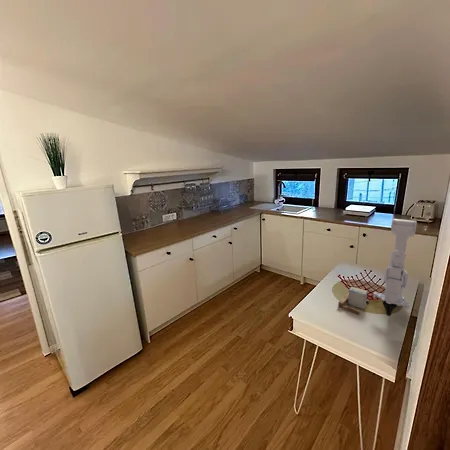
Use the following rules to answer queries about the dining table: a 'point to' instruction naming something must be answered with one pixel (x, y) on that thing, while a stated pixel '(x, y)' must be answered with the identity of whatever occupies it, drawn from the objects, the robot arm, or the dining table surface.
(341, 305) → the end stop
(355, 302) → the medicine box
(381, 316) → the dining table surface
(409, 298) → the dining table surface
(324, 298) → the dining table surface
